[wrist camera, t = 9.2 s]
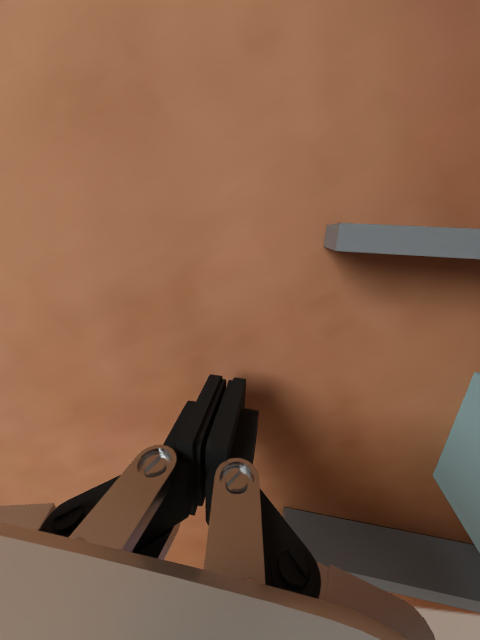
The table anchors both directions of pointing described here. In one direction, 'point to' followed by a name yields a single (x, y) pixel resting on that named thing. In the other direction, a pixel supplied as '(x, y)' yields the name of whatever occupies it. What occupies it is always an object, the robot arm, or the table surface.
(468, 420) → the teal block
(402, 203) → the table surface
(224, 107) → the table surface
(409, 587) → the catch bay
